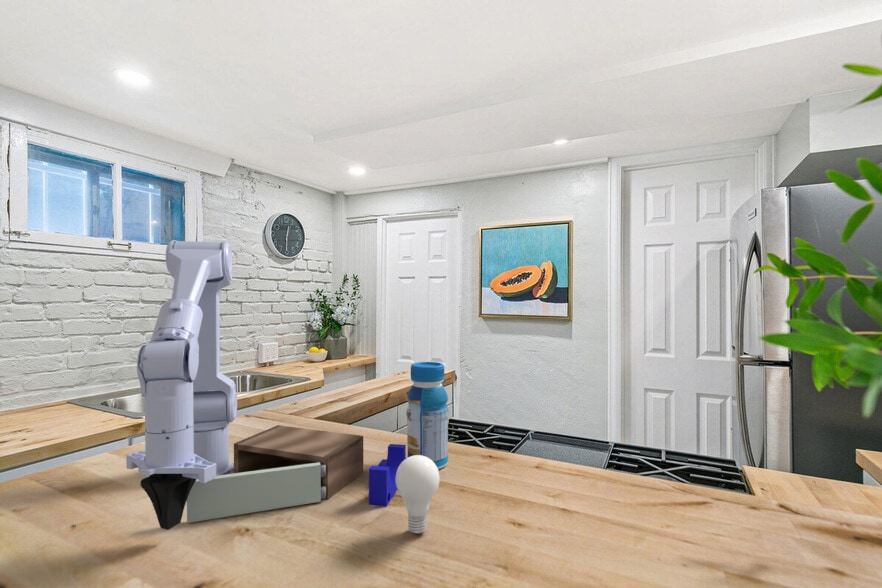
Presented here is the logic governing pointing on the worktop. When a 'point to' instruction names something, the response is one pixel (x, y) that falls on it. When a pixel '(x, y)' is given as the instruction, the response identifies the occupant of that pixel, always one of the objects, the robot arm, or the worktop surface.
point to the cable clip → (385, 476)
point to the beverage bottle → (428, 413)
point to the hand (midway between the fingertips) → (170, 525)
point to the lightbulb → (417, 489)
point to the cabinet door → (256, 491)
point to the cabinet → (303, 453)
